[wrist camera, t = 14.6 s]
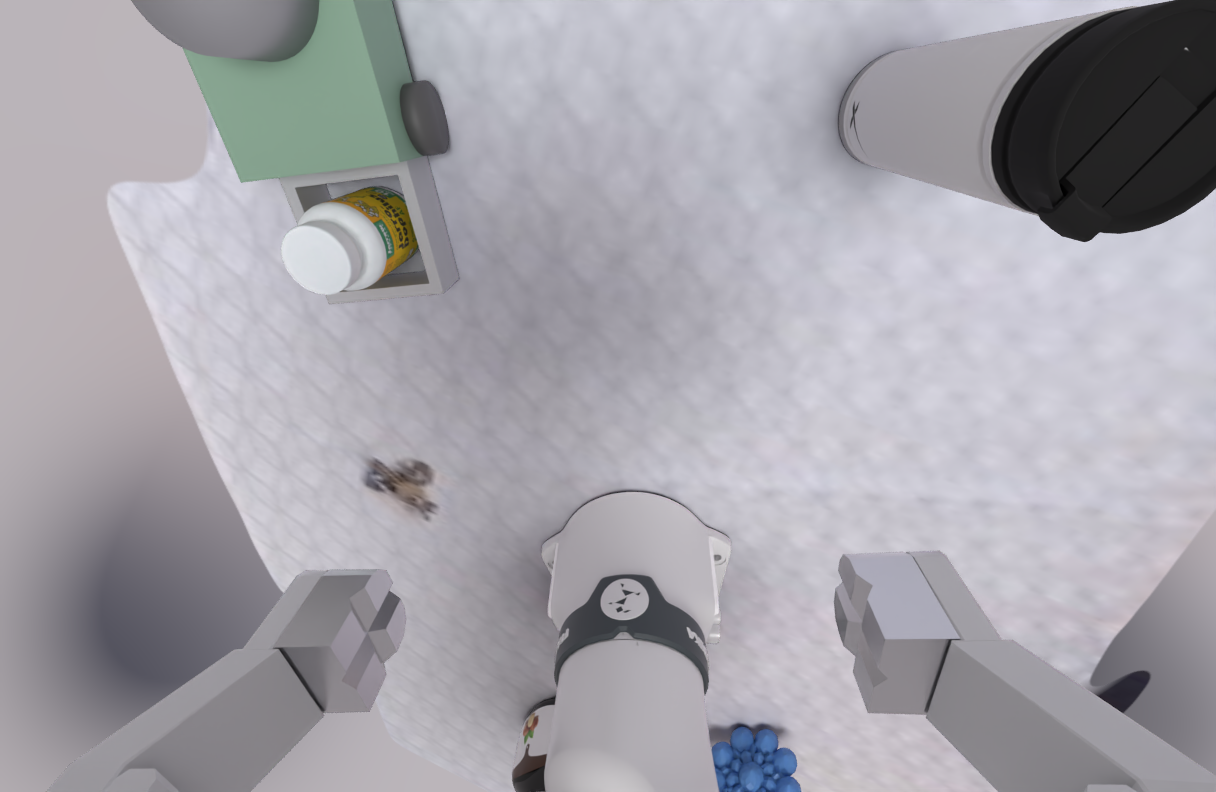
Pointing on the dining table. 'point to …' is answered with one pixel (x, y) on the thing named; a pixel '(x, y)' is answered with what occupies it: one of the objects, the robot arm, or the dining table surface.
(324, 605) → the robot arm
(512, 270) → the dining table surface
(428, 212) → the green toy truck
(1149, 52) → the travel mug
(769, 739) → the grapes
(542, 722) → the spread jar
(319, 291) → the supplement bottle
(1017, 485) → the dining table surface
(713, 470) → the dining table surface
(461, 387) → the dining table surface
